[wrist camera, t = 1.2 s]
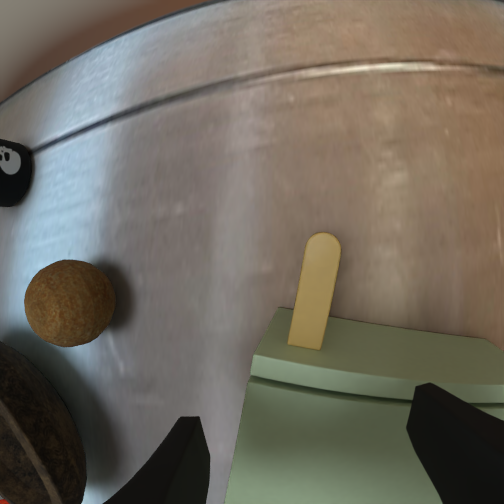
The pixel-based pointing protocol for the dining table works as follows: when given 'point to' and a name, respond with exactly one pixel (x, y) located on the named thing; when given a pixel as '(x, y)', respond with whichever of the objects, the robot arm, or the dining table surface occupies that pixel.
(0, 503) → the decorative mushroom
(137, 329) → the dining table surface
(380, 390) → the cupboard door
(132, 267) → the dining table surface
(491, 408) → the cupboard
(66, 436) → the bowl
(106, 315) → the fruit
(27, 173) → the beverage can
